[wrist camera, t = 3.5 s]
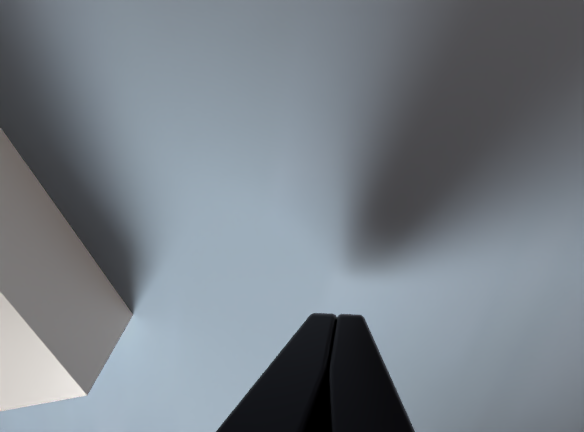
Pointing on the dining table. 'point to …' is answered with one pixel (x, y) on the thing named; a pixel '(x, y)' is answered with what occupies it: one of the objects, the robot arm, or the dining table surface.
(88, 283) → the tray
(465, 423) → the dining table surface
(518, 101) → the dining table surface
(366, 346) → the robot arm
